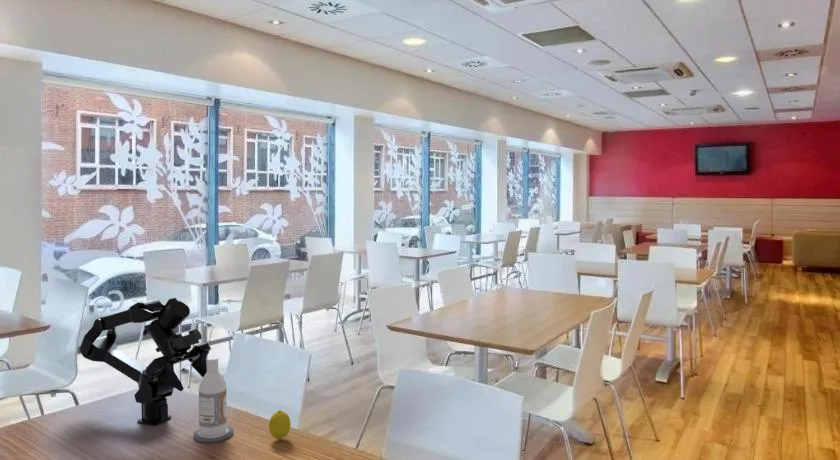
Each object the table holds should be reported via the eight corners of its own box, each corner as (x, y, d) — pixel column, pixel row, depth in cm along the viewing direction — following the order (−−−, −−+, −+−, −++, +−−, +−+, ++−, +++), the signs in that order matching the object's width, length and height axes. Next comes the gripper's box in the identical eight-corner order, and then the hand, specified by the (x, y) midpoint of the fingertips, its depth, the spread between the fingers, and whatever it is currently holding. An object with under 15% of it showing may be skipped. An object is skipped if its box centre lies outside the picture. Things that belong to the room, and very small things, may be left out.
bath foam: (224, 436, 158) (224, 361, 157) (197, 437, 157) (196, 362, 156) (228, 426, 165) (227, 354, 164) (201, 427, 164) (201, 355, 163)
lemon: (285, 445, 156) (285, 415, 155) (265, 443, 157) (265, 413, 156) (293, 436, 161) (293, 407, 160) (274, 434, 162) (274, 405, 161)
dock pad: (185, 439, 158) (185, 436, 158) (210, 425, 168) (210, 422, 168) (216, 445, 155) (216, 442, 155) (240, 431, 164) (240, 427, 164)
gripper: (153, 329, 156) (184, 379, 152) (206, 314, 172) (236, 358, 169) (131, 353, 160) (162, 402, 156) (185, 336, 177) (214, 380, 173)
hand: (195, 384), depth 164 cm, fingers open, 9 cm apart
